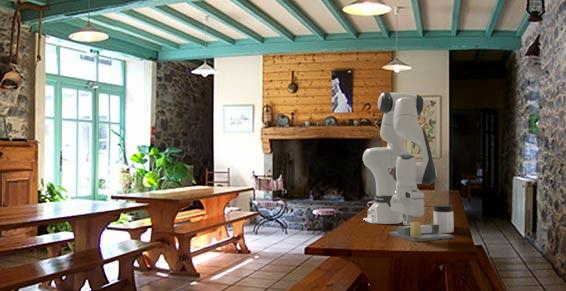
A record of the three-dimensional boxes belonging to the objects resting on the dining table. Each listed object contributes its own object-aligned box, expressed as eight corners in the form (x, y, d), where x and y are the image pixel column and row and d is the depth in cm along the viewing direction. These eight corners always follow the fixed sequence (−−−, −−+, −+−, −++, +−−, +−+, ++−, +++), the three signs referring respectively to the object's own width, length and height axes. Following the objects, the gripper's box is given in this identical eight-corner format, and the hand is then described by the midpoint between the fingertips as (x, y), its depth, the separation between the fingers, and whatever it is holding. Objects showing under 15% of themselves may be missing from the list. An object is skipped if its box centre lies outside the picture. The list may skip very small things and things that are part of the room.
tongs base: (397, 233, 239) (397, 226, 239) (430, 231, 245) (430, 223, 245) (405, 235, 233) (405, 228, 234) (438, 232, 240) (438, 225, 240)
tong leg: (415, 234, 235) (415, 226, 235) (412, 233, 238) (412, 225, 238) (439, 232, 239) (438, 225, 239) (435, 231, 242) (435, 224, 242)
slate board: (389, 234, 244) (389, 232, 244) (424, 231, 251) (424, 229, 251) (415, 241, 225) (415, 238, 225) (453, 238, 232) (453, 235, 232)
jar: (444, 233, 245) (443, 206, 245) (429, 231, 252) (429, 205, 252) (457, 231, 250) (456, 205, 250) (443, 229, 257) (442, 204, 257)
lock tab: (410, 236, 229) (410, 222, 229) (416, 236, 230) (416, 221, 230) (414, 237, 226) (414, 223, 226) (420, 237, 227) (420, 222, 227)
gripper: (387, 191, 243) (387, 222, 243) (413, 194, 224) (414, 228, 224) (399, 190, 245) (399, 221, 245) (426, 194, 226) (427, 227, 226)
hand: (406, 225), depth 234 cm, fingers closed
